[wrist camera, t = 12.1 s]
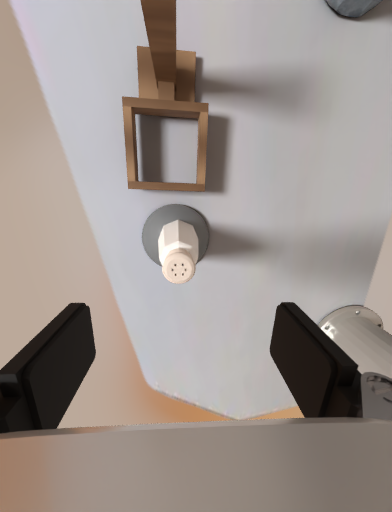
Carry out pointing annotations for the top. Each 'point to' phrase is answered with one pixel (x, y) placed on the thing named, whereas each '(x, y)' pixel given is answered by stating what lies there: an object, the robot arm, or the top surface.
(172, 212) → the coaster
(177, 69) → the ring stand
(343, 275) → the top surface
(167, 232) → the pepper shaker
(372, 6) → the moka pot
